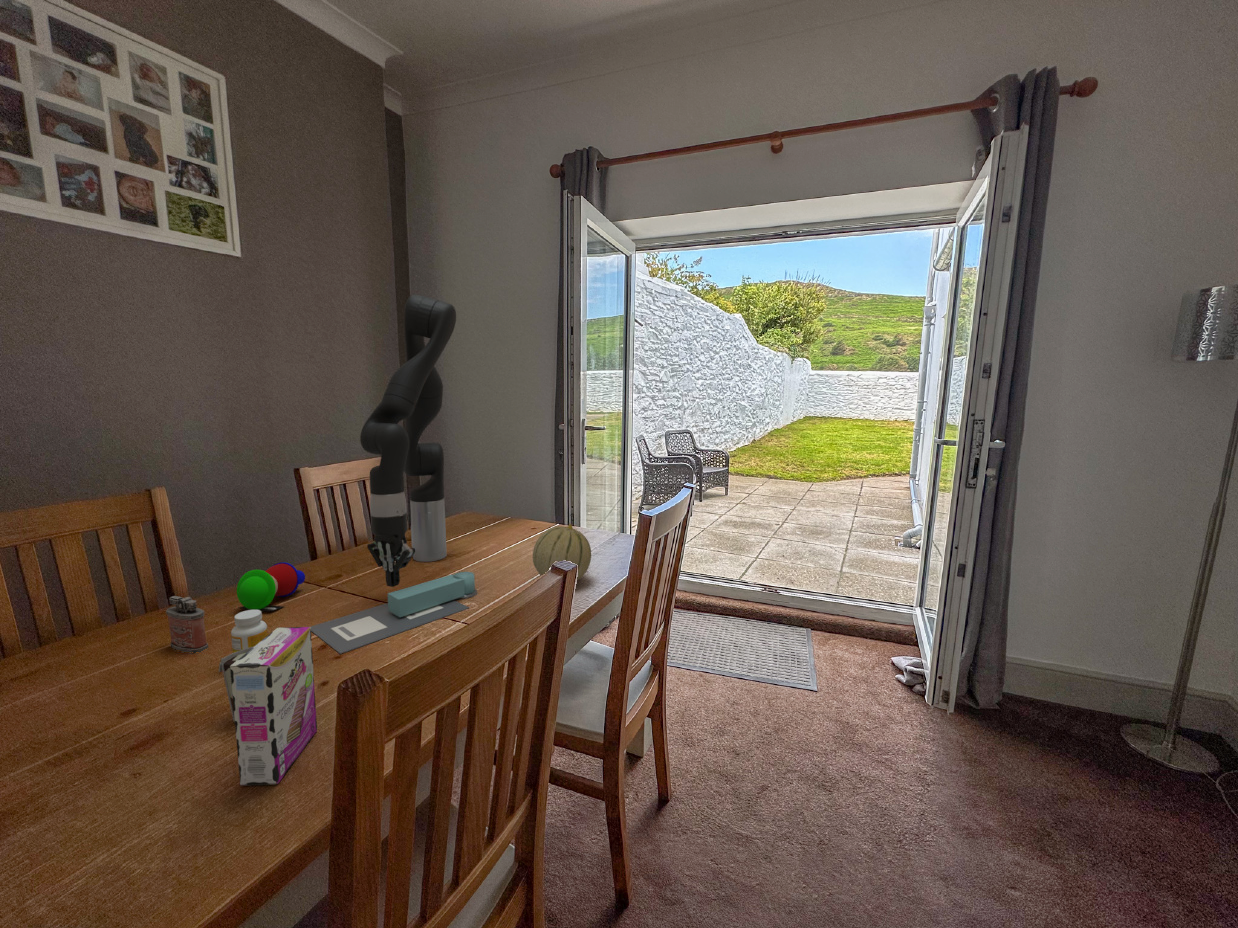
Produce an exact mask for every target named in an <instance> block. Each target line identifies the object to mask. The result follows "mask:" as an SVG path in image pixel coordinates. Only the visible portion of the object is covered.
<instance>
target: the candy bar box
mask: <svg viewBox="0 0 1238 928" xmlns="http://www.w3.org/2000/svg"><path fill="white" fill-rule="evenodd" d="M312 645H313V643H312V632H311V626H295V627H294V626H293V627H291V626H290V627H289V626H288V627H276V628H275V629H274V630H272V631H271V632H270V633H268V636H267V637H265V638H264V639H263V640H262V641H261V642H259V643H258V644H257V645H256V646H254V647H253V648H252V649H251V650H249V651H248V652H247V653H246V654H244V655H243V656H242V657H241V658H240V659H238V660H237V661H236V662H234V663H233V664H232V665H231V666H230V672H231V684H232V694H233V706H234V719H235V722H234V727H235V739H236V748H237V749H236V750H237V760H238V761H237V763H238V772H239V773H238V775H239V785H240V786H243V787H244V786H247V787H248V786H271V785H272V786H274V785H279V783H280V782H281V781H282V779H283V777H284V776H285V775H286V774H287V772H288V771H289V769H290V768H291V767H292V765H294V763H295V761H296V760H297V759H298V757H299V756H300V755H301V753H302V752H303V751H304V749H305V748H306V746H307V745H308V744H309V742H310V741H311V740H312V738H313V737H314V735H315V734H317V731H318V721H317V709H316V693H315V691H316V690H315V677H314V676H315V675H314V658H313V646H312Z"/></svg>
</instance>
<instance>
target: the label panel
mask: <svg viewBox="0 0 1238 928" xmlns="http://www.w3.org/2000/svg"><path fill="white" fill-rule="evenodd" d="M468 609H470V607H469V606H467V605H465V604H462V603H461V602H458V601H457V600H456V599H453V600H450V601H447V602H444V603H441V604H438V605H436V606H433V607H430V608H427V609H424V610H421V611H418V612H415V613H412V614H409V615H406V616H403V617H398V616H396V615H395V614H393V613H391V612H390V611H388V602H387V603H382V604H379V605H376V606H373V607H370V608H367V609H363V610H360V611H357V612H353V613H351V614H347V615H344V616H340V617H337V618H333V619H330V620H328V621H325V622H322V623H321V622H320V623H317V624H315V625H311V626H310V627H311V633H313V634H314V635H315V636H317V638H319V639H320V640H321V641H323V642H324V643H326V645H328V647H331V648H332V649H334V651H336V652H337V653H338V654H340V655H342V653H343V654H346V653H347V652H348V653H349V652H351V651H353V650H356V649H359V648H362V647H365V646H367V645H370V644H373V643H375V642H376V643H377V642H379V641H382V640H384V639H385V640H386V639H388V638H389V637H394V636H395V635H398V634H401V633H404V632H406V631H410V630H412V629H414V628H415V629H416V628H417V627H421V626H423V625H426V624H429V623H432V622H434V621H437V620H439V619H443V618H446V617H449V616H452V615H454V614H457V613H461V612H463V611H466V610H468ZM345 652H346V653H345Z"/></svg>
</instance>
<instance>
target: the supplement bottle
mask: <svg viewBox="0 0 1238 928" xmlns="http://www.w3.org/2000/svg"><path fill="white" fill-rule="evenodd" d="M233 619H234V624H235V626H234V627H233V628H232V629H231V631H230V638H231V649H232V650H231V651H232V653H235V652H237V651H240V650H243V649H247V648H250V647H254V646H256V645H257V644H258V643H259V642H261V641H262V640H263V639H264V638H265V637H267V636H268V635H269V632H268V625H267V623H266V622H265V621H264V620H263V614H262V610H251V609H246V610H244V611H240V612H238V613H237V614H235V615H234V618H233Z"/></svg>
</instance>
